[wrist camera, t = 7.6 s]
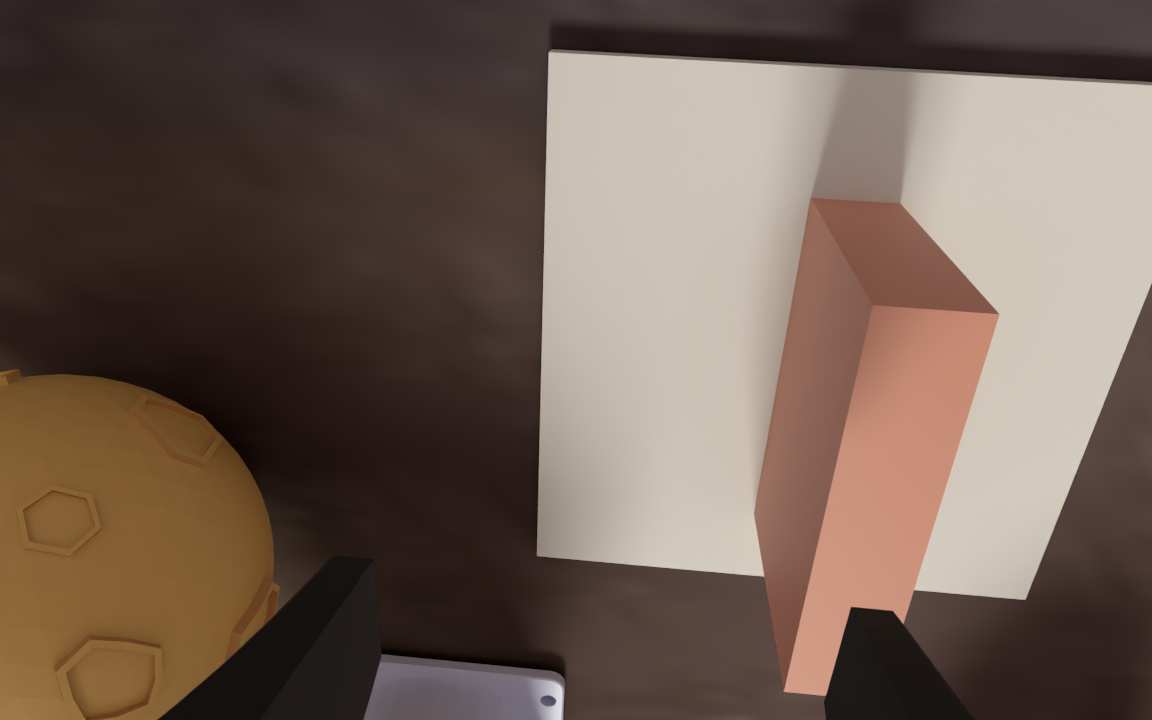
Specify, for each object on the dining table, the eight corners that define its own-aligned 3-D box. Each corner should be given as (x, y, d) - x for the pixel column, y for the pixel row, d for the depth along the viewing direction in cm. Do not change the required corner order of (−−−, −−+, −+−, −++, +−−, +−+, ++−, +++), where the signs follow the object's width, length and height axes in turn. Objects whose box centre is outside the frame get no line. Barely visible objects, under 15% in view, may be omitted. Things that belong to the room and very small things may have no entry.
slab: (827, 520, 23) (879, 700, 17) (753, 514, 23) (783, 691, 17) (900, 203, 18) (999, 314, 13) (810, 198, 19) (873, 305, 13)
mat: (1018, 587, 24) (1025, 600, 23) (538, 544, 25) (536, 556, 24) (1213, 85, 17) (1229, 89, 17) (551, 49, 18) (548, 52, 18)
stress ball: (188, 584, 28) (345, 765, 22) (-205, 716, 21) (-146, 1041, 15) (178, 302, 25) (358, 418, 18) (-291, 349, 18) (-262, 560, 11)
